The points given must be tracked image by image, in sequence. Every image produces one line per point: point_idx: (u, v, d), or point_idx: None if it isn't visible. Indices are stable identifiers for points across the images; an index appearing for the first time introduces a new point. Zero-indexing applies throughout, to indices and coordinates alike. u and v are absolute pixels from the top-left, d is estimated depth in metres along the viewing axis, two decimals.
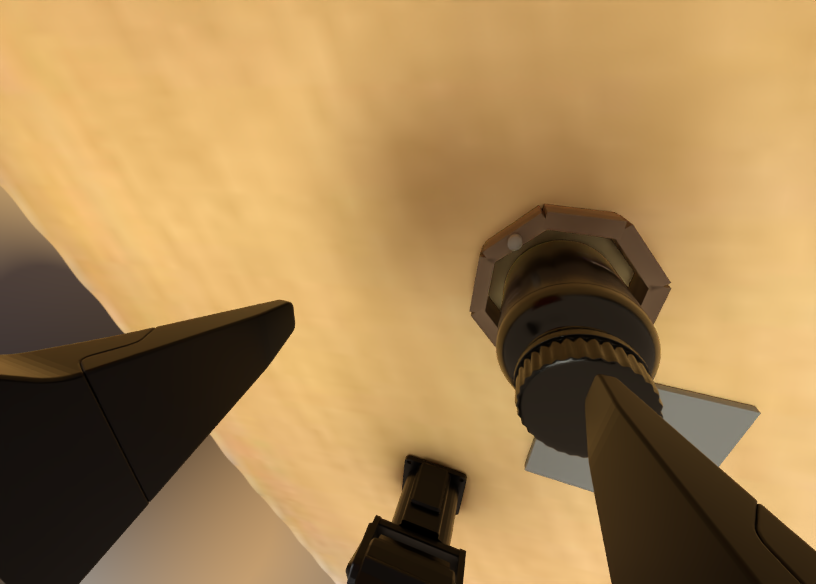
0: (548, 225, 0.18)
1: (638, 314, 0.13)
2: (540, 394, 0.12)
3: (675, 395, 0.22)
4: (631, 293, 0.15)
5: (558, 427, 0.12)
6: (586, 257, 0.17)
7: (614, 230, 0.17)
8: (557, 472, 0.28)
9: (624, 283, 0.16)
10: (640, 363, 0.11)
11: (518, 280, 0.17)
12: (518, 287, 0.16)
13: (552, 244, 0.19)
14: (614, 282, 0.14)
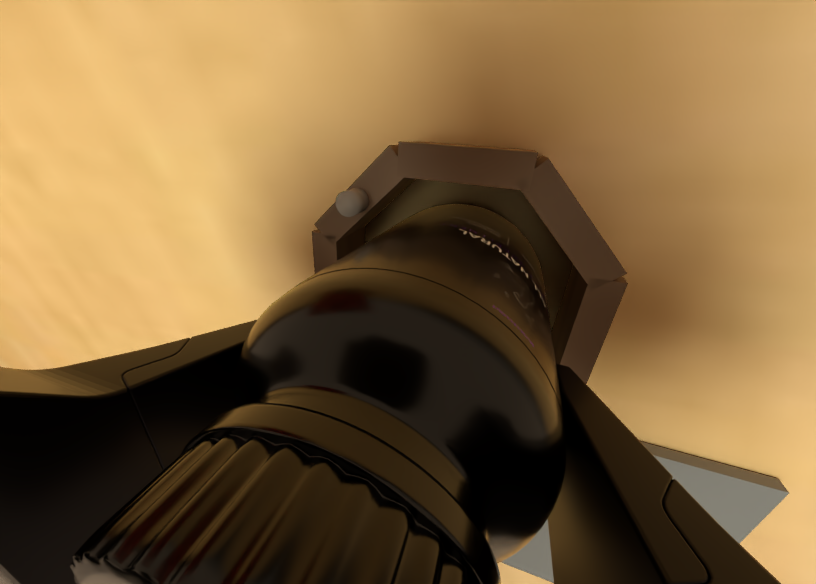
0: (404, 169, 0.10)
1: (488, 355, 0.04)
2: None
3: None
4: (521, 294, 0.07)
5: None
6: (459, 224, 0.09)
7: (516, 172, 0.09)
8: None
9: (525, 273, 0.08)
10: (427, 552, 0.03)
11: None
12: None
13: (429, 209, 0.11)
14: (474, 268, 0.06)
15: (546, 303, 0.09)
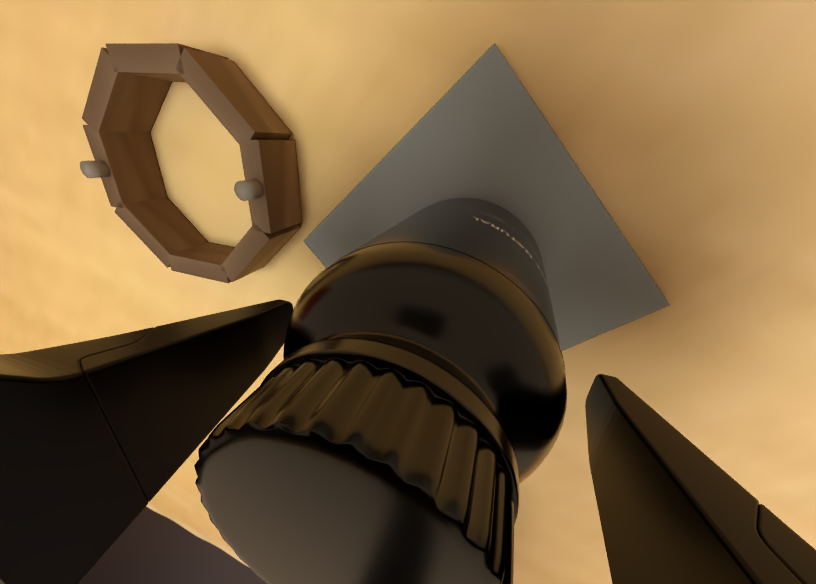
0: (94, 127, 0.16)
1: (505, 305, 0.06)
2: (234, 505, 0.05)
3: (402, 145, 0.13)
4: (527, 268, 0.08)
5: (297, 579, 0.05)
6: (471, 212, 0.10)
7: (108, 66, 0.14)
8: None
9: (529, 254, 0.09)
10: (469, 432, 0.04)
11: None
12: None
13: (440, 202, 0.12)
14: (489, 245, 0.07)
15: None
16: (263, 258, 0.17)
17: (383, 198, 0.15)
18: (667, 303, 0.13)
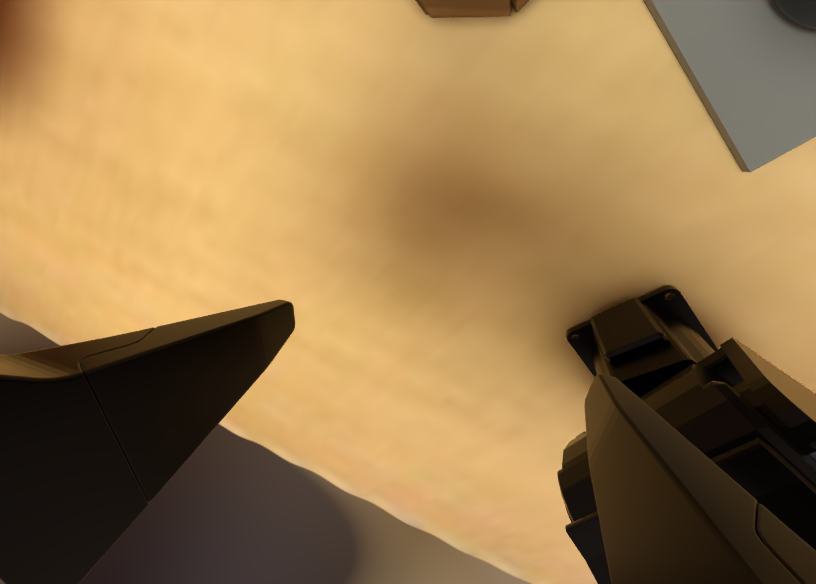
0: None
1: None
2: None
3: None
4: None
5: None
6: None
7: None
8: (812, 111, 0.13)
9: None
10: None
11: None
12: None
13: None
14: None
15: None
16: None
17: None
18: None
